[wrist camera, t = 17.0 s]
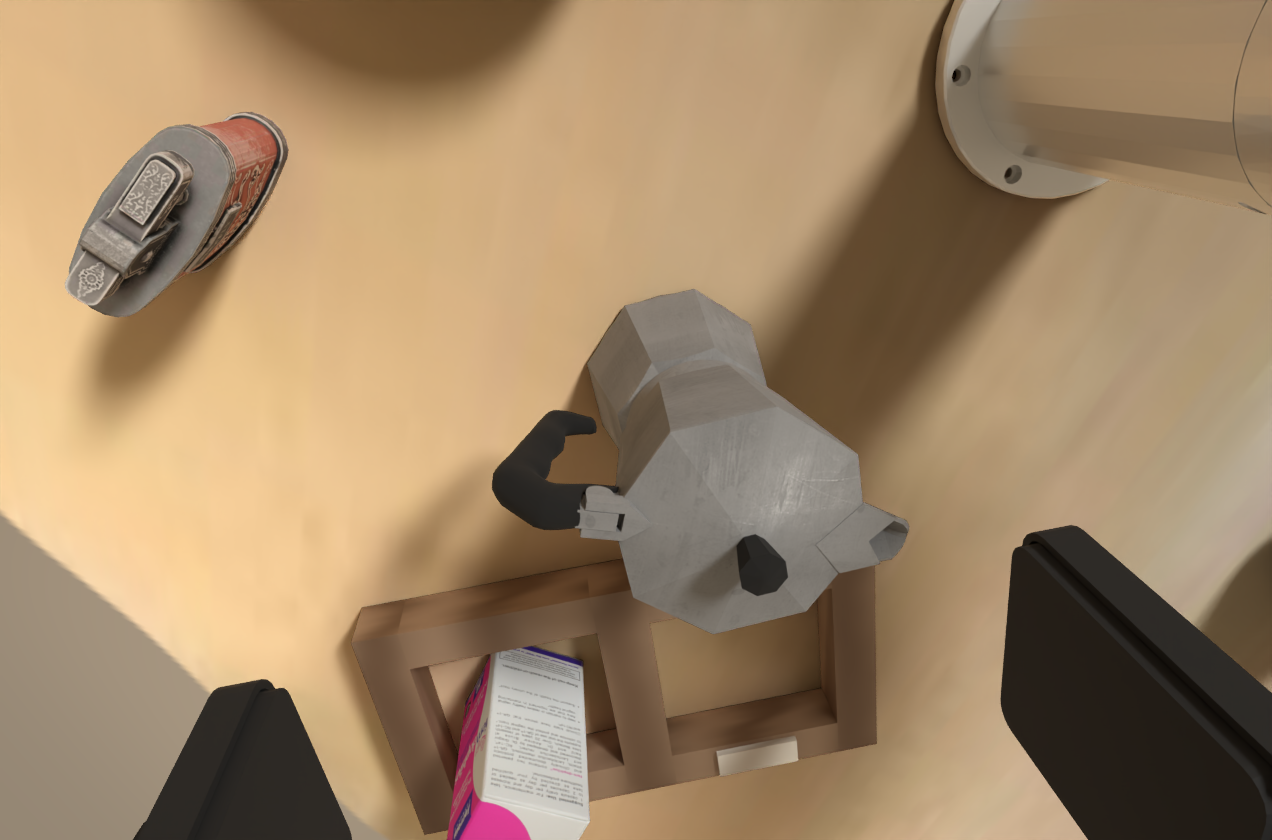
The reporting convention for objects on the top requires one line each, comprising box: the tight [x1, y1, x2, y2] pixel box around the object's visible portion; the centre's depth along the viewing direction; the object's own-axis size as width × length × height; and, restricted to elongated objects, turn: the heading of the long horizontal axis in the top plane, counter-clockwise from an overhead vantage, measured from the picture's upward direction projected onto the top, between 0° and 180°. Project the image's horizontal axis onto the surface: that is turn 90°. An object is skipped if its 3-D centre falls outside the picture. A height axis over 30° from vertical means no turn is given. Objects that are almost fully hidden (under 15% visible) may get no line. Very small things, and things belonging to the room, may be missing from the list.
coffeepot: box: [492, 289, 909, 634], centre depth 33 cm, size 15×9×18 cm, turn 80°
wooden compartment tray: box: [351, 559, 877, 835], centre depth 48 cm, size 29×16×3 cm, turn 98°
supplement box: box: [447, 646, 590, 840], centre depth 44 cm, size 6×6×12 cm
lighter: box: [65, 112, 289, 317], centre depth 31 cm, size 8×3×10 cm, turn 138°
